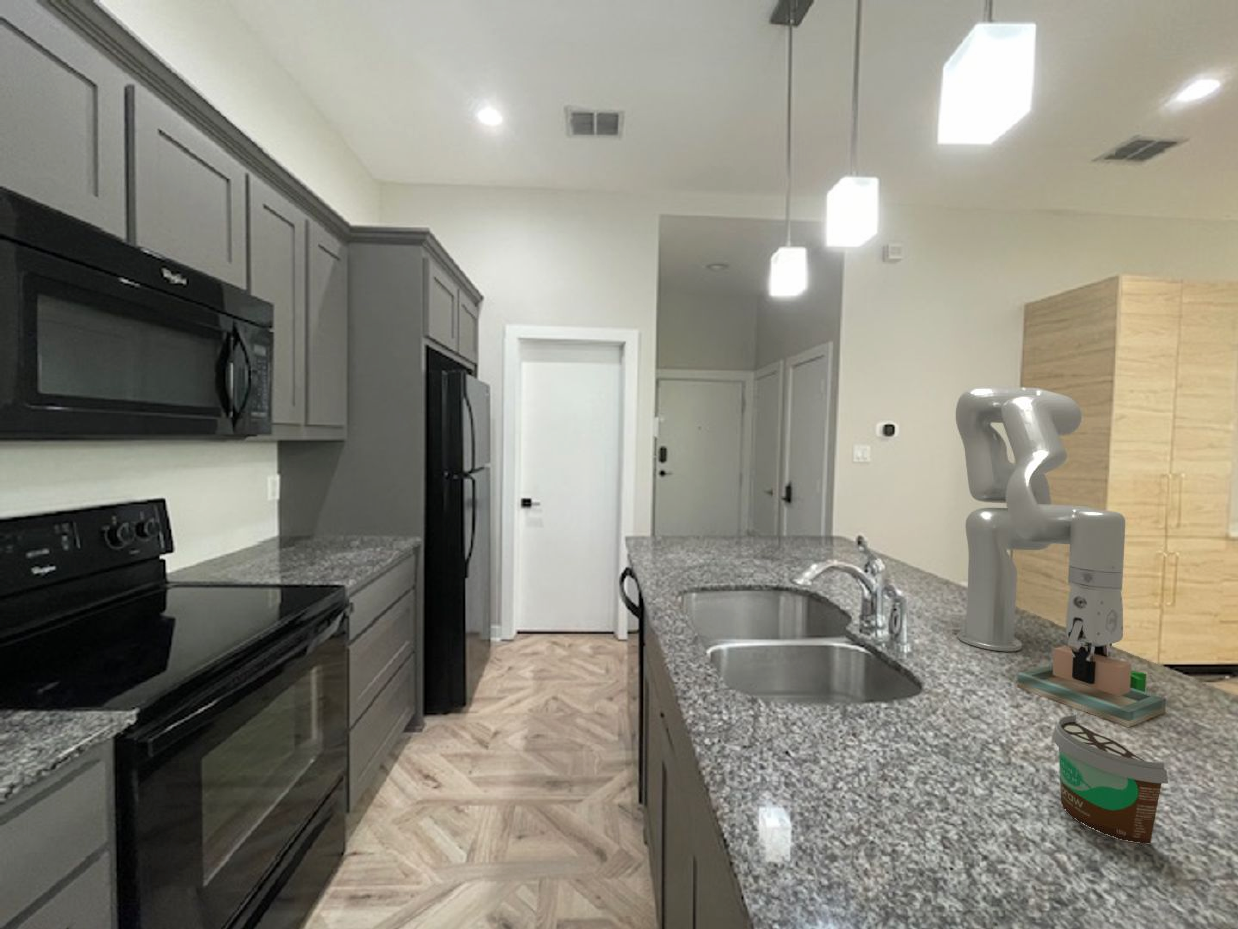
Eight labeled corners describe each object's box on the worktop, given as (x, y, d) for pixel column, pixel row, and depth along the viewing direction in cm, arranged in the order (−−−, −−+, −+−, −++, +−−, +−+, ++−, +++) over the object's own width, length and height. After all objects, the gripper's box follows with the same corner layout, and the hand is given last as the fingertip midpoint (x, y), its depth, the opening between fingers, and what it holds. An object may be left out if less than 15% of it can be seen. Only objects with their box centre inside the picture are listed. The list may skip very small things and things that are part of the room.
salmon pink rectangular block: (1118, 696, 98) (1119, 667, 98) (1052, 675, 107) (1053, 648, 107) (1129, 692, 100) (1131, 664, 100) (1064, 671, 109) (1065, 645, 108)
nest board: (1016, 686, 108) (1017, 673, 108) (1054, 676, 114) (1055, 663, 114) (1128, 727, 93) (1129, 712, 93) (1165, 712, 99) (1165, 698, 99)
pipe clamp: (1158, 706, 102) (1159, 680, 102) (1135, 704, 103) (1137, 679, 103) (1111, 680, 114) (1113, 657, 113) (1091, 678, 114) (1092, 656, 114)
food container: (1024, 788, 75) (1028, 713, 75) (1067, 787, 76) (1071, 713, 75) (1112, 855, 63) (1118, 766, 63) (1163, 853, 63) (1169, 765, 63)
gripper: (1095, 587, 96) (1090, 695, 96) (1143, 579, 103) (1138, 680, 104) (1045, 577, 102) (1041, 678, 103) (1094, 571, 110) (1089, 665, 110)
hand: (1090, 678), depth 103 cm, fingers closed on salmon pink rectangular block, 4 cm apart
